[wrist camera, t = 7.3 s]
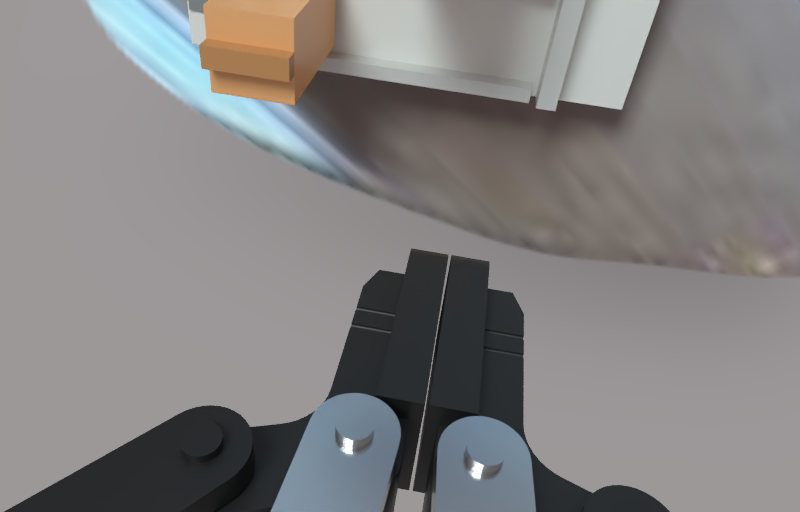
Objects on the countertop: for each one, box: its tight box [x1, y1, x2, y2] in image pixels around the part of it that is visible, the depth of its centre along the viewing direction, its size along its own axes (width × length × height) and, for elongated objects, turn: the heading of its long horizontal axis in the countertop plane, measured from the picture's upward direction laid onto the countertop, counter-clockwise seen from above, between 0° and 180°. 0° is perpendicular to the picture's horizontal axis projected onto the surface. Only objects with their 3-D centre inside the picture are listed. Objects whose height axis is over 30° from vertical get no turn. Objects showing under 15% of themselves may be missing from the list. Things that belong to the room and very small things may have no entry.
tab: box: [199, 0, 336, 105], centre depth 23 cm, size 3×3×7 cm
